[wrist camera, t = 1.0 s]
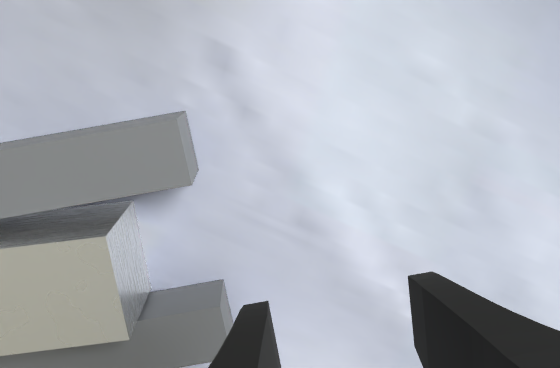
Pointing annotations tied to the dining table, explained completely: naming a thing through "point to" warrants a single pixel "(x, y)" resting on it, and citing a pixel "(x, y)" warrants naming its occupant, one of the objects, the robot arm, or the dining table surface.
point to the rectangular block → (70, 277)
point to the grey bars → (110, 185)
